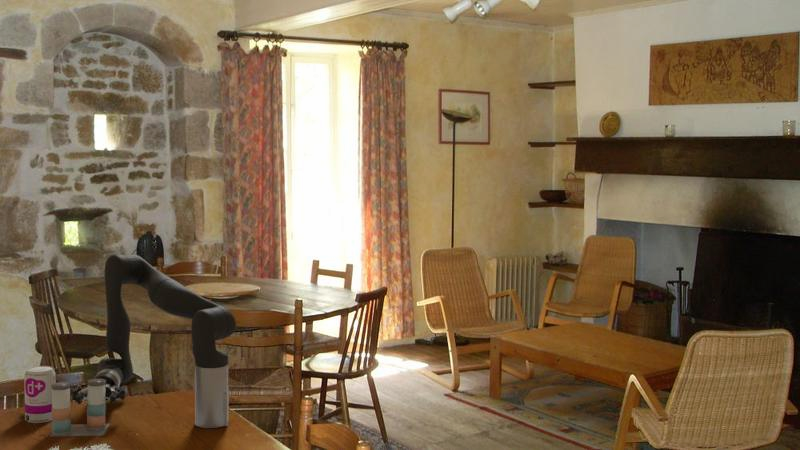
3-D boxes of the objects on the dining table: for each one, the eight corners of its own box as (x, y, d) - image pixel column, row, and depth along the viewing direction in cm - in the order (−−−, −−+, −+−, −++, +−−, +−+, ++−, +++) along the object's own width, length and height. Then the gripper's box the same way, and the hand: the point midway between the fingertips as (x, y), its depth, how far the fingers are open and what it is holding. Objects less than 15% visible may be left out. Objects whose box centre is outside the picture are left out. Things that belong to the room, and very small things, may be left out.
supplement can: (45, 426, 255) (44, 373, 254) (18, 423, 257) (18, 371, 255) (61, 417, 263) (61, 366, 261) (35, 415, 265) (35, 364, 263)
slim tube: (106, 425, 255) (107, 378, 254) (103, 430, 250) (104, 383, 249) (88, 425, 254) (89, 378, 253) (85, 430, 250) (85, 383, 248)
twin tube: (72, 429, 251) (72, 382, 250) (68, 435, 246) (68, 386, 245) (54, 429, 250) (53, 382, 249) (50, 435, 245) (49, 387, 244)
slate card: (109, 425, 257) (109, 423, 257) (103, 437, 247) (103, 435, 247) (57, 426, 255) (57, 424, 255) (49, 438, 245) (49, 436, 245)
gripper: (80, 372, 265) (68, 387, 249) (130, 371, 267) (122, 386, 251) (80, 397, 266) (68, 414, 250) (130, 396, 268) (122, 413, 252)
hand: (95, 400), depth 251 cm, fingers open, 8 cm apart
